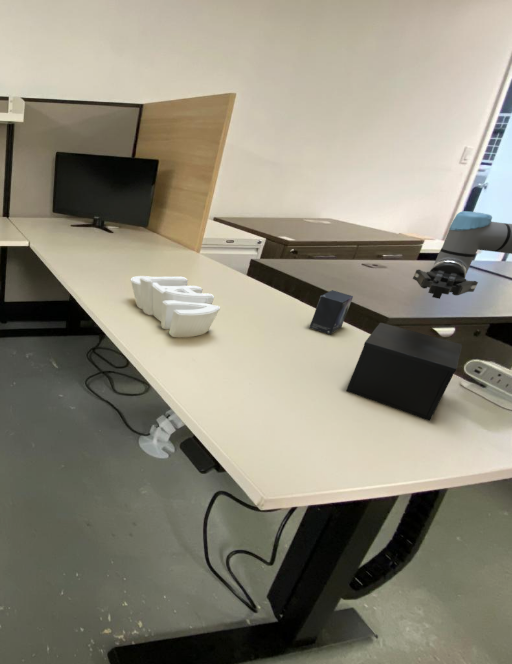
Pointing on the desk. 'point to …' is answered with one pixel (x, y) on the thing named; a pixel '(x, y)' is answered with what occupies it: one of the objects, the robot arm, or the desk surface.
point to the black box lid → (415, 346)
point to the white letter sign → (175, 304)
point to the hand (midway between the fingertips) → (438, 292)
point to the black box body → (399, 382)
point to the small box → (330, 312)
